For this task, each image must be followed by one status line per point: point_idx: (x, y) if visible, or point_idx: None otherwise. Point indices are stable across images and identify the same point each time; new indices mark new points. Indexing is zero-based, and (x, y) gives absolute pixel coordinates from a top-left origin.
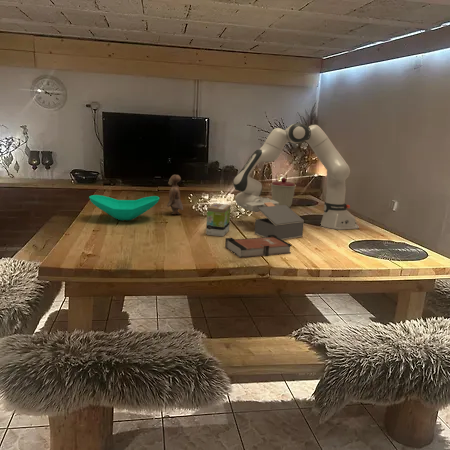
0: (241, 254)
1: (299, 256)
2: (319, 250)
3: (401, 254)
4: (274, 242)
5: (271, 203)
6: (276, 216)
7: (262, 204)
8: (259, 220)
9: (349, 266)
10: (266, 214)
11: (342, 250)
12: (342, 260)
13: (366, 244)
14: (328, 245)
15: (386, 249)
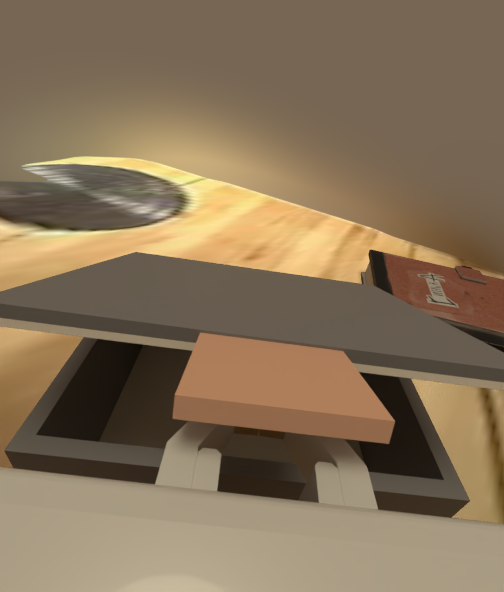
0: None
1: (352, 256)
2: (257, 249)
3: (111, 179)
4: (420, 278)
5: (216, 372)
6: (330, 293)
7: (397, 512)
8: (434, 436)
9: (288, 206)
10: (423, 316)
11: (197, 227)
12: (270, 215)
13: (68, 212)
14: (182, 251)
15: (88, 191)
